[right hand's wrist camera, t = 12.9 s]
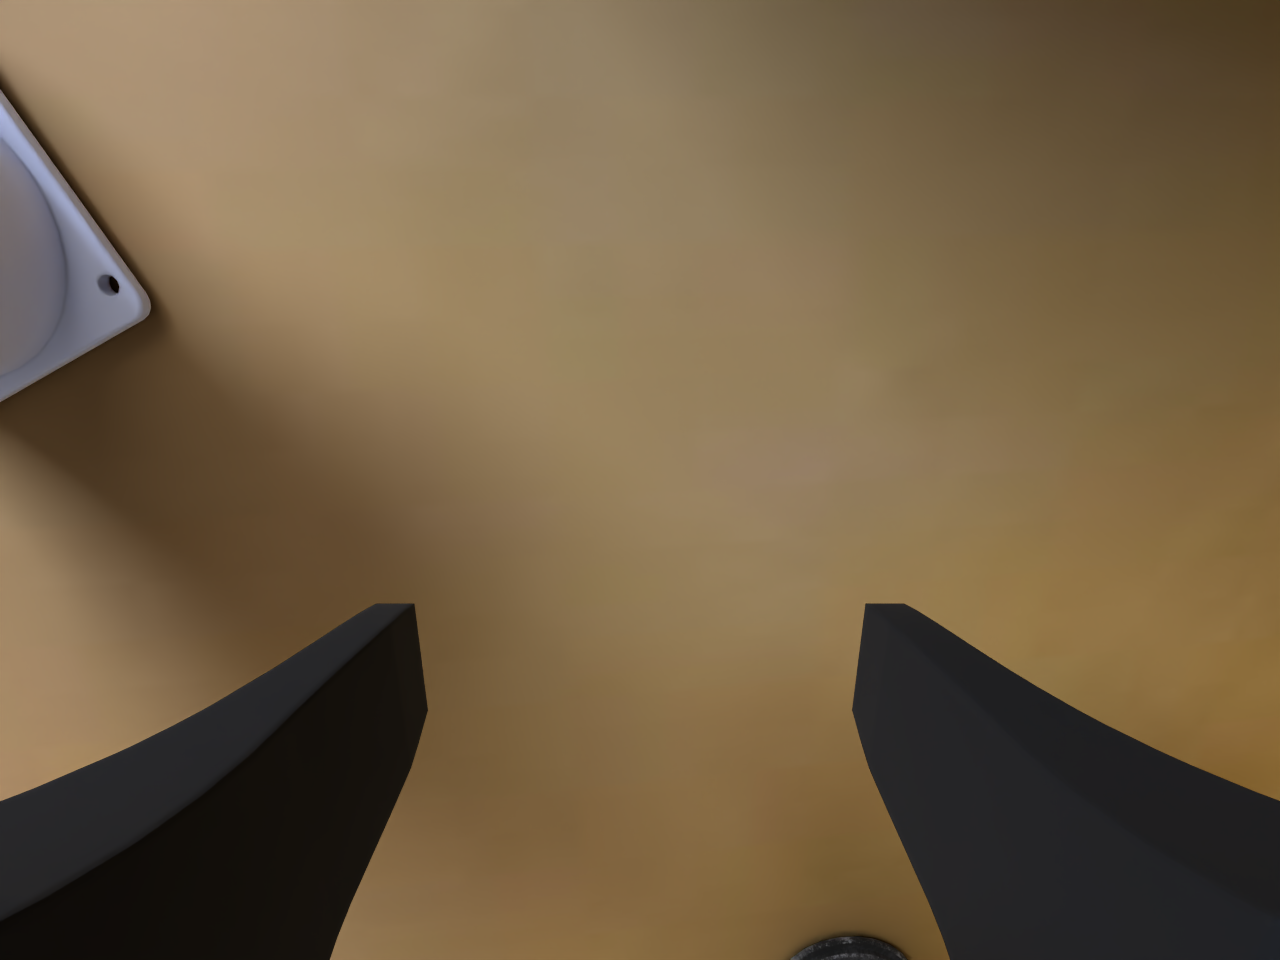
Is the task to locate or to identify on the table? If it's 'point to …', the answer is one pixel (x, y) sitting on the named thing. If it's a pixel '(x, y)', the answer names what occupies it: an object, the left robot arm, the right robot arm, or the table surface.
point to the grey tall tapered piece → (850, 950)
